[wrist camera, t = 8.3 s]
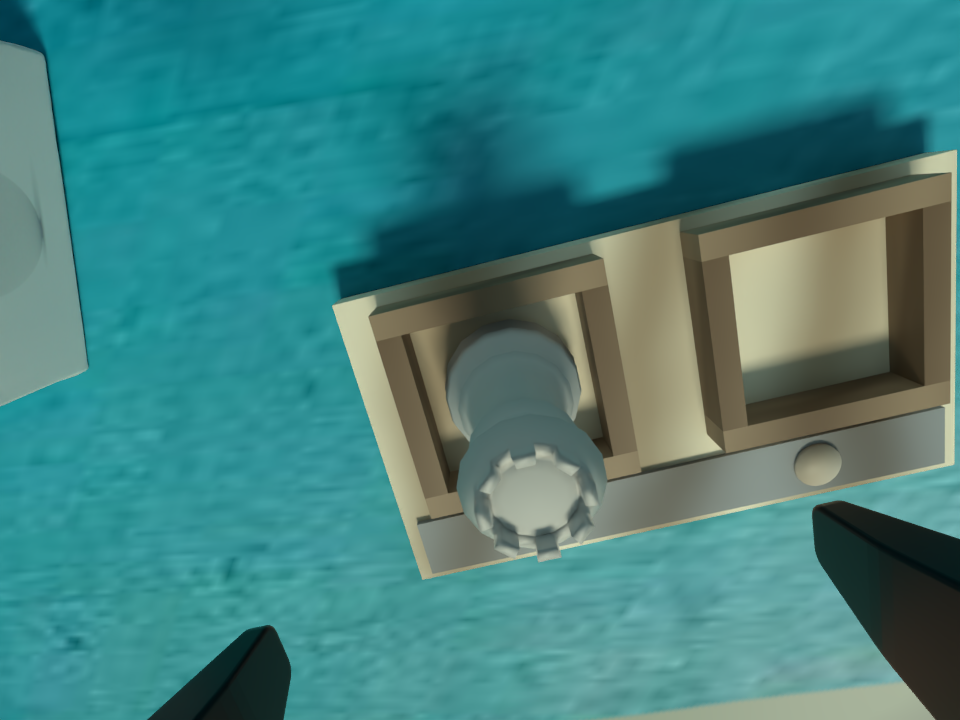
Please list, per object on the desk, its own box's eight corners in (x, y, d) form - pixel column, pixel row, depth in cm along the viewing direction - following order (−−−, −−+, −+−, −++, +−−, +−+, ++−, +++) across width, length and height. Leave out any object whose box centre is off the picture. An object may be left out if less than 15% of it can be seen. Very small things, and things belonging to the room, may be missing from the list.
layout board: (925, 152, 18) (1003, 144, 15) (927, 449, 21) (992, 485, 18) (340, 299, 19) (319, 315, 16) (425, 559, 22) (418, 608, 19)
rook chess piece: (418, 384, 18) (379, 516, 11) (507, 288, 18) (532, 357, 10) (513, 463, 19) (540, 636, 12) (603, 374, 18) (694, 500, 11)
